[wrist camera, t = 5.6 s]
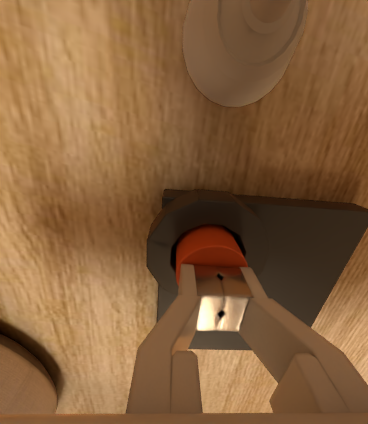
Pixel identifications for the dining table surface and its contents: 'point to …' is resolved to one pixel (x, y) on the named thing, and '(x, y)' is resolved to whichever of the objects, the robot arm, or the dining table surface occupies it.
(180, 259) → the button
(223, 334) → the scale
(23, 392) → the planter
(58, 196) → the dining table surface
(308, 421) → the robot arm
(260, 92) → the chalice
